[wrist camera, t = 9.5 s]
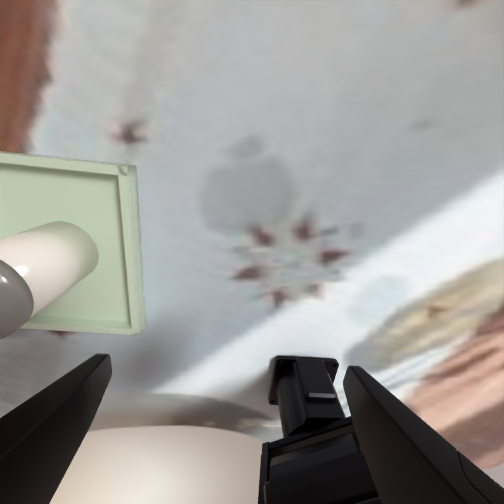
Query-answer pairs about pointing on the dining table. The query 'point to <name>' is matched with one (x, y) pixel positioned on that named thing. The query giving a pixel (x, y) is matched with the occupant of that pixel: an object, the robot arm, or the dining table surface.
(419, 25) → the dining table surface
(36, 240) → the spice jar
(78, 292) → the tray
